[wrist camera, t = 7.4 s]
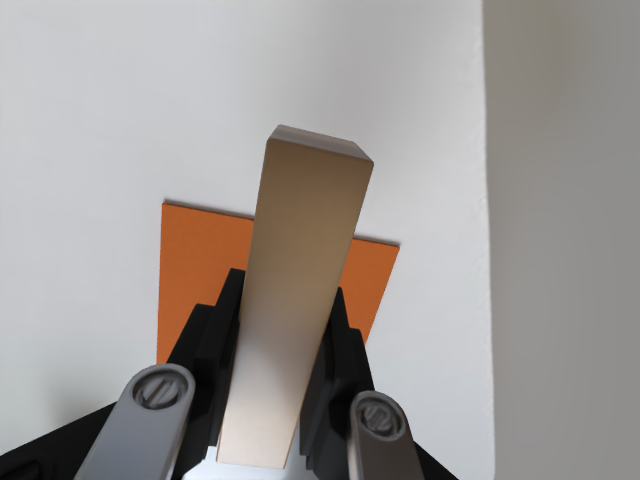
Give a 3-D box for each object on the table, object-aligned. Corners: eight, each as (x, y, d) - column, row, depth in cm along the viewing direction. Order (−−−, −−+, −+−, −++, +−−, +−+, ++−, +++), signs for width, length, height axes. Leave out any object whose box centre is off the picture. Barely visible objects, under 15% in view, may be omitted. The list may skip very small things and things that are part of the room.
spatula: (186, 101, 9) (136, 106, 6) (436, 161, 10) (484, 186, 7) (162, 478, 15) (132, 559, 12) (314, 492, 16) (316, 570, 13)
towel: (163, 202, 21) (162, 203, 21) (399, 246, 23) (399, 247, 23) (154, 431, 30) (154, 433, 30) (327, 447, 32) (327, 449, 32)
